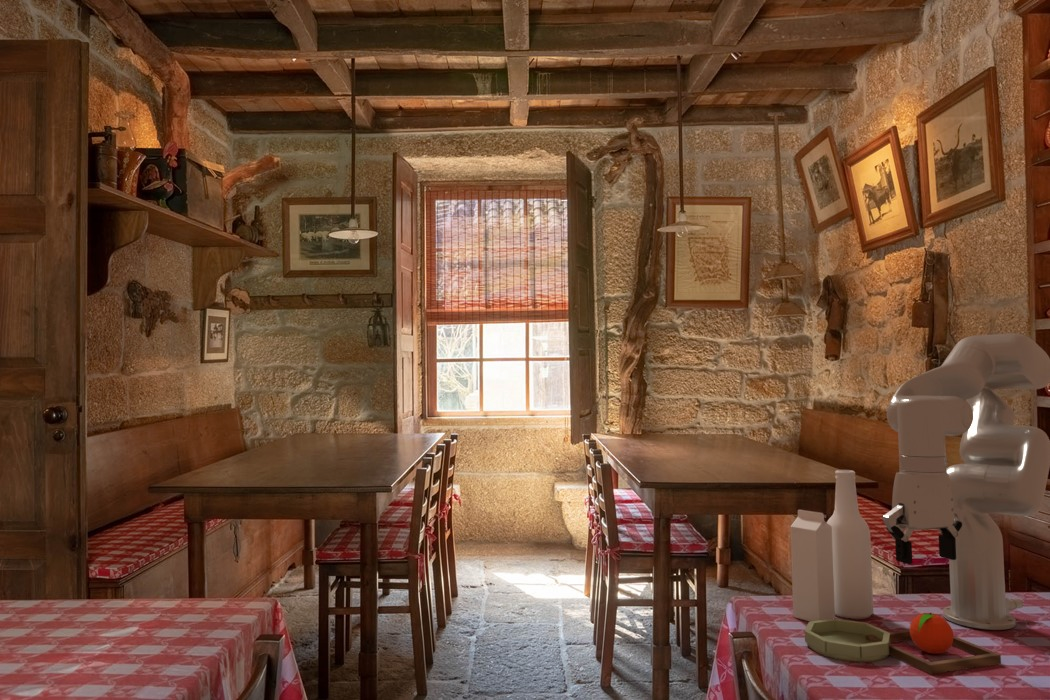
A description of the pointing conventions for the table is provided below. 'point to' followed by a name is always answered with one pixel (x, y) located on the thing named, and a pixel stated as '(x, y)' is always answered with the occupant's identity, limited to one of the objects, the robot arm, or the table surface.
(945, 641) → the clementine
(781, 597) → the table surface
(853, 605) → the alcohol
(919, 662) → the brown rectangular frame
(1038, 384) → the robot arm
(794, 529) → the milk
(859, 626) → the dish
